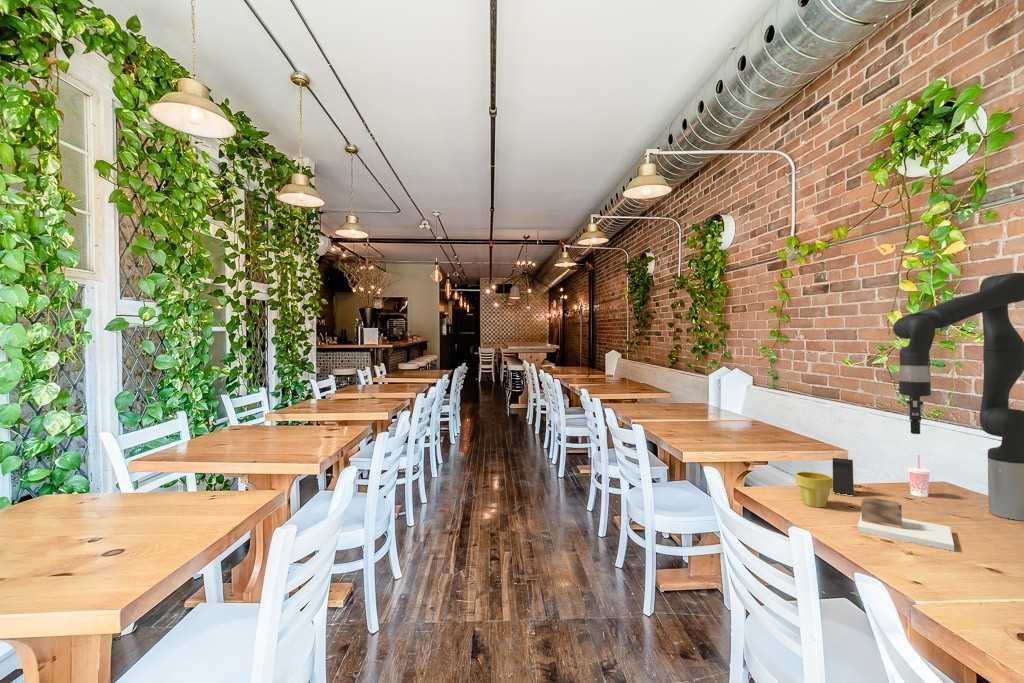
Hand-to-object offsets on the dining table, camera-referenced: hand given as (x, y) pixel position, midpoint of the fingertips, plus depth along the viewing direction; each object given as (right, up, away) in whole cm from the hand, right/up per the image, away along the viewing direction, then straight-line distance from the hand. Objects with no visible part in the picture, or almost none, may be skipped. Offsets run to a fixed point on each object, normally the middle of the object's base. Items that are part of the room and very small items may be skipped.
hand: (915, 431), depth 145 cm
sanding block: (-18, -25, -9) cm, 32 cm away
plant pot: (-25, -27, +11) cm, 38 cm away
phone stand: (-6, -27, +23) cm, 36 cm away
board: (-14, -26, -13) cm, 32 cm away
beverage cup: (+18, -26, +20) cm, 38 cm away
